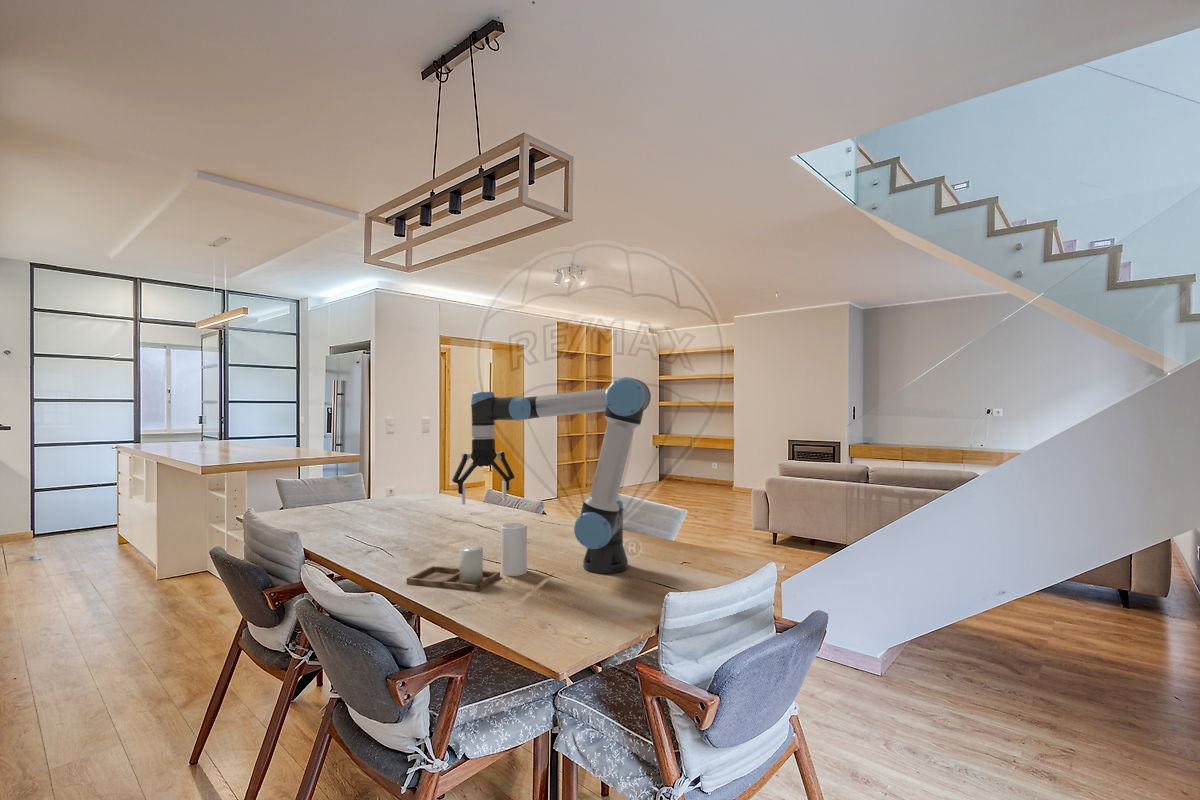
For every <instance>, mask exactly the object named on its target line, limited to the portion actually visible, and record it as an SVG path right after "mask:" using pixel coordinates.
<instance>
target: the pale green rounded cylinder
mask: <svg viewBox="0 0 1200 800" xmlns="http://www.w3.org/2000/svg"><path fill="white" fill-rule="evenodd" d="M458 552H459V555H458V561H459V562H458V565H459V566H458V568H459V583H465V584H475V585H477V584H479V583H481V582H482V581H483V571H484V565H483V564H484V548H483V547H482V546H479V545H478V546H477V545H469V546H464V547H460V548H459V551H458Z"/></svg>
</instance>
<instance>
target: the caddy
mask: <svg viewBox="0 0 1200 800" xmlns="http://www.w3.org/2000/svg"><path fill="white" fill-rule="evenodd" d="M499 578H501V571H493V570H483V581H482V582H481V583H479V584H477V585H475V584H465V583H459V567H452V566H451V567H449V566H440V565H432V566H429V567H427V568H425V569H423V570H421V571H419V572H418V573H415V574H413V575H412V576H409V577H407V578H406V584H407V585H412V586H413V585H415V586H425V587H435V588H442V589H443V588H444V589H452V590H453V589H454V590H461V591H471V592H480V591H481V590H483V589H484V588H486V587H487V586H489V585H490V584H492V583H494V582H495V581H496V580H498V579H499Z"/></svg>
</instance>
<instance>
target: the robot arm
mask: <svg viewBox="0 0 1200 800" xmlns="http://www.w3.org/2000/svg"><path fill="white" fill-rule="evenodd" d="M651 396H652V394H651V390H650V389H649V386H648V385H647V384H646V383H645V382H643V380H639V379H636V378H633V377H628V376H626V377H625V376H624V377H621V378H618V379H616V380H614V381H613V382H612V383H610V385H609V386H608V387H607V388H600V389H592V390H584V391H582V390H581V391H573V392H565V393H555V394H544V395H538V396H527V397H524V396H523V397H522V396H510V397H509V396H508V397H507V396H506V397H496V396H495V392H493V391H474V392H473V393H472V394H471V403H470V404H471V405H470V407H471V437H472V438H473V439H471V453H462V454H461V460H460V463H459V465H458V467H457V468H456V469H457V470H456V471H455V472H454V475H453V477H452V479H451V480H452V482H453V483H454V484H457V493H458V495H461V504H462V505H466V484H465V483H464V482H465V481H466V480H467V479H468V477H469V476H470V475H471V473H472V472H473V471H475V469H476V468H477V467H479V468H480V467H481V468H482V467H490V466H492V468H493V469H494V470H495V471H496V472H497V473H498V474H499V476H500V477H501V478H502V479H503V480H501V494H502V495H501V496H502V497H501V499H502V500H501V501H503V502H507V492H508V491H509V490H510V481H511V480H513V479H515V474H514V472H513V471H512V469H511V467H510V465H509V463H508V460H507V459H506V454H505V452H504V451H499V452H496V439H495V438H494V437H495V436H496V431H495V430H496V427H495V426H496V424H495V423H496V421H526V420H532V419H538V418H548V417H558V416H568V415H579V414H589V413H590V414H592V413H600V412H604V419H605V420H606V422H607V424H606V427H605V432H604V436H603V440H602V444H601V448H600V453H599V455H598V461H597V465H596V467H595V468H596V470H595V473H594V477H593V481H592V485H591V489H590V494H589V495H588V496H587V497H585V498H584V499H583V501H582V507H581V509H580V514H579V516H578V517H577V518H576V521H574V522H575V523H574V526H573V530H574V536H575V538H576V540H577V541H578V543H579V544H580V545H582V546H583V547H585V548H586V550H585V551H586V552H585V555H584V557H583V560H582V563H583V564H582V565H583V566H582V567H583V569H584V570H586V571H588V572H591V573H597V574H616V573H621V572H624V571H626V570H628V568H629V560H628V556H627V554H626V550H625V547H624V544H623V543H624V525H623V524H624V503H623V501H622V500H620V499H618V496H619V492H620V489H621V485H622V480H623V477H624V472H625V468H626V464H627V461H628V456H629V452H630V447H631V443H632V439H633V435H634V431H635V429H636V428H637V427H639V426H641V423H642V419H643V415H644V411H645V410H646V409H647V408H648V407H649V405H650V402H651ZM496 458H498V459H500V462H501V464H502V465H503V467H504V470H505V472H506V473H507V474H506V473H505V472H504V471H503V470H502V468H501V467H500V466H499V465H498V464H497V463H496V462H495V460H496ZM470 459H471V460H472V462H471V464H470V465H469V466H468V468H467V469H466V470H465V471H464V472H463V470H464V468H465V467H466V465H467V464H466V463H467V461H469V460H470ZM462 472H463V474H462Z"/></svg>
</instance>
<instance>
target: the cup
mask: <svg viewBox="0 0 1200 800" xmlns="http://www.w3.org/2000/svg"><path fill="white" fill-rule="evenodd" d="M500 531H501V533H500V547H501V548H500V575H502V576H507V577H517V576H523V575H525V574H527V569H528V564H527V563H528V525H527V524H526V523H521V522H511V523H510V522H508V523H504V524H501V526H500Z"/></svg>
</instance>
